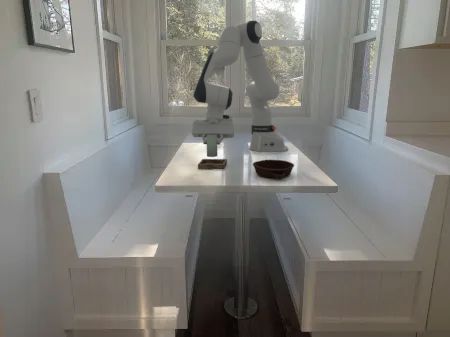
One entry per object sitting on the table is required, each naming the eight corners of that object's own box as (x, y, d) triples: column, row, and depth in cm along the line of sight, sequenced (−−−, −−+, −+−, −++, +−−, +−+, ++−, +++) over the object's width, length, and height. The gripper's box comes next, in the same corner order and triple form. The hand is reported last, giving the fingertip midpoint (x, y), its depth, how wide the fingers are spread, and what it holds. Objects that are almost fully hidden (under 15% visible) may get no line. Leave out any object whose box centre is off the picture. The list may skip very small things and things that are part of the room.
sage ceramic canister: (218, 154, 169) (217, 134, 167) (216, 157, 165) (216, 135, 162) (207, 154, 170) (207, 133, 168) (205, 156, 165) (205, 135, 163)
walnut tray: (226, 163, 174) (226, 159, 173) (223, 169, 162) (223, 164, 162) (202, 163, 175) (202, 158, 175) (198, 169, 163) (197, 164, 163)
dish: (257, 183, 141) (258, 170, 140) (248, 169, 163) (248, 158, 161) (300, 181, 143) (301, 169, 142) (285, 168, 164) (286, 157, 163)
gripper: (192, 116, 171) (188, 139, 164) (234, 116, 169) (232, 140, 162) (194, 124, 176) (190, 147, 169) (235, 124, 174) (233, 148, 167)
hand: (211, 143), depth 165 cm, fingers closed on sage ceramic canister, 5 cm apart
